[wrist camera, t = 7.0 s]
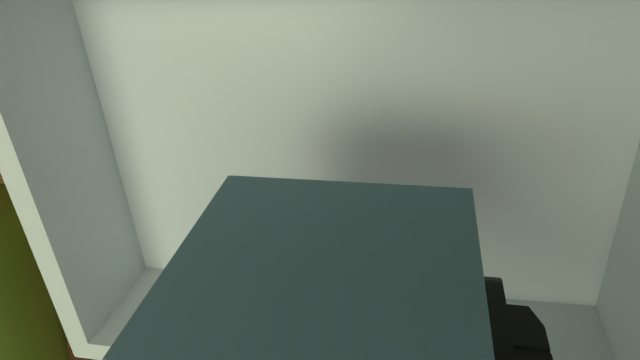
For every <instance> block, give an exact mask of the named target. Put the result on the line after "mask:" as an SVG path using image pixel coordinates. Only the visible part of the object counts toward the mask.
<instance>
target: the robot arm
mask: <svg viewBox="0 0 640 360" xmlns="http://www.w3.org/2000/svg"><path fill="white" fill-rule="evenodd" d="M484 281H485V289H486V296H487V304H488V311H489V319H490V327H491V334H492V342H493V350H494V357H495V360H553V357H552V353H550V345H549V341H548V337H547V333H546V329H545V326H544V325H543V324H542V322H541V321H540V320H539V319H538V317H537V316H536V315H535V313H534V312H533V311H532V310H531V308H530V307H529V306H523V305H512V304H506V298H505V293H504V287H503V282H502V279H501V278H500V277H487V276H484Z"/></svg>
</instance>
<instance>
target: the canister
mask: <svg viewBox="0 0 640 360" xmlns="http://www.w3.org/2000/svg"><path fill="white" fill-rule="evenodd" d="M0 360H69V355H68V350H67V344H66V339H65V334H64V329H63V327H62V324H61V322H60V319H59V317H58V314H57V312H56V309H55V307H54V304H53V302H52V299H51V297H50V294H49V292H48V289H47V287H46V285H45V282H44V280H43V277H42V275H41V272H40V270H39V267H38V265H37V262H36V260H35V257H34V255H33V252H32V250H31V247H30V245H29V242H28V240H27V237H26V235H25V232H24V230H23V227H22V225H21V222H20V220H19V217H18V215H17V212H16V210H15V208H14V205H13V203H12V200H11V198H10V195H9V193H8V190H7V188H6V185H5V184H1V183H0Z"/></svg>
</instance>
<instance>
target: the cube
mask: <svg viewBox="0 0 640 360" xmlns="http://www.w3.org/2000/svg"><path fill="white" fill-rule="evenodd" d="M102 360H495V357H494V350H493V342H492V334H491V327H490V319H489V311H488V304H487V296H486V289H485V281H484V273H483V266H482V258H481V250H480V243H479V235H478V227H477V220H476V212H475V205H474V197H473V189H472V188H456V187H438V186H419V185H401V184H382V183H363V182H345V181H326V180H308V179H289V178H270V177H252V176H233V175H228V177H227V178H226V179H225V181H224V182H223V184H222V185H221V187H220V188H219V190H218V191H217V193H216V194H215V195H214V197H213V198H212V200H211V201H210V203H209V204H208V206H207V207H206V209H205V210H204V211H203V213H202V214H201V216H200V217H199V219H198V220H197V222H196V223H195V225H194V226H193V228H192V229H191V230H190V232H189V233H188V235H187V236H186V238H185V239H184V241H183V242H182V244H181V245H180V246H179V248H178V249H177V251H176V252H175V254H174V255H173V257H172V258H171V260H170V261H169V263H168V264H167V265H166V267H165V268H164V270H163V271H162V273H161V274H160V276H159V277H158V279H157V280H156V281H155V283H154V284H153V286H152V287H151V289H150V290H149V292H148V293H147V295H146V296H145V297H144V299H143V300H142V302H141V303H140V305H139V306H138V308H137V309H136V311H135V312H134V314H133V315H132V316H131V318H130V319H129V321H128V322H127V324H126V325H125V327H124V328H123V330H122V331H121V332H120V334H119V335H118V337H117V338H116V340H115V341H114V343H113V344H112V346H111V347H110V349H109V350H108V351H107V353H106V354H105V356H104V357H103V359H102Z"/></svg>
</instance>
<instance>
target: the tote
mask: <svg viewBox="0 0 640 360" xmlns="http://www.w3.org/2000/svg"><path fill="white" fill-rule="evenodd" d="M0 173H1V175H2V178H3V180H4V183H5V185H6V188H7V190H8V193H9V195H10V198H11V200H12V203H13V205H14V208H15V210H16V212H17V215H18V217H19V220H20V222H21V225H22V227H23V230H24V232H25V235H26V237H27V240H28V242H29V245H30V247H31V250H32V252H33V255H34V257H35V260H36V262H37V265H38V267H39V270H40V272H41V275H42V277H43V280H44V282H45V285H46V287H47V289H48V292H49V294H50V297H51V299H52V302H53V304H54V307H55V309H56V312H57V314H58V317H59V319H60V322H61V324H62V327H63V329H64V332H65V334H66V337H67V339H68V342H69V344H70V347H71V349H72V352H73V354H74V357H80V358H88V359H95V360H102V359H103V357H104V356H105V354H106V353H107V351H108V350H109V349H110V347H111V346H112V344H113V343H114V341H115V340H116V338H117V337H118V335H119V334H120V332H121V331H122V330H123V328H124V327H125V325H126V324H127V322H128V321H129V319H130V318H131V316H132V315H133V314H134V312H135V311H136V309H137V308H138V306H139V305H140V303H141V302H142V300H143V299H144V297H145V296H146V295H147V293H148V292H149V290H150V289H151V287H152V286H153V284H154V283H155V281H156V280H157V279H158V277H159V276H160V274H161V273H162V271H163V270H164V268H165V267H166V265H167V264H168V263H169V261H170V260H171V258H172V257H173V255H174V254H175V252H176V251H177V249H178V248H179V246H180V245H181V244H182V242H183V241H184V239H185V238H186V236H187V235H188V233H189V232H190V230H191V229H192V228H193V226H194V225H195V223H196V222H197V220H198V219H199V217H200V216H201V214H202V213H203V211H204V210H205V209H206V207H207V206H208V204H209V203H210V201H211V200H212V198H213V197H214V195H215V194H216V193H217V191H218V190H219V188H220V187H221V185H222V184H223V182H224V181H225V179H226V178H227V177H228V175H233V176H252V177H270V178H289V179H308V180H326V181H345V182H363V183H382V184H401V185H419V186H438V187H456V188H472V189H473V197H474V205H475V212H476V220H477V227H478V235H479V243H480V250H481V258H482V266H483V273H484V276H487V277H500V278H501V279H502V282H503V287H504V293H505V298H506V304H512V305H523V306H529V307H530V308H531V310H532V311H533V312H534V313H535V315H536V316H537V317H538V319H539V320H540V321H541V322H542V324H543V325H544V326H545V329H546V333H547V337H548V341H549V345H550V353H552V357H553V360H640V0H0Z"/></svg>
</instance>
